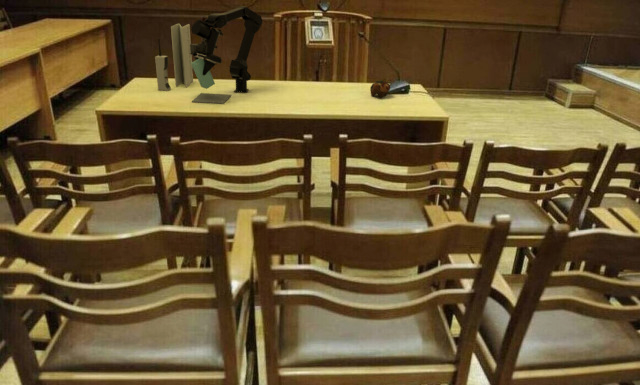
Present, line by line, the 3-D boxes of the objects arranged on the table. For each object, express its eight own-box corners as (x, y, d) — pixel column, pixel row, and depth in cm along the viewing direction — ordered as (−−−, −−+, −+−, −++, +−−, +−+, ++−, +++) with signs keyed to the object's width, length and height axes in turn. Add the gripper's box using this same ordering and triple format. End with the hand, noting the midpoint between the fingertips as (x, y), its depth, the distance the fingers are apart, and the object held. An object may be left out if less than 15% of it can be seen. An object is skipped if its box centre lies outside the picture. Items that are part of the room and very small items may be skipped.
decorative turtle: (365, 98, 254) (366, 82, 250) (375, 92, 266) (376, 77, 263) (383, 100, 250) (385, 84, 247) (392, 94, 263) (394, 79, 259)
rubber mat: (201, 94, 248) (201, 93, 247) (231, 95, 247) (231, 94, 247) (191, 102, 233) (191, 101, 233) (223, 104, 232) (223, 102, 232)
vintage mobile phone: (167, 91, 250) (162, 39, 240) (158, 90, 251) (153, 38, 241) (170, 89, 254) (166, 38, 243) (161, 88, 254) (156, 37, 244)
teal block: (201, 87, 238) (190, 63, 231) (209, 82, 241) (199, 58, 233) (206, 88, 235) (196, 64, 228) (215, 83, 237) (205, 59, 230)
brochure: (186, 87, 258) (181, 27, 246) (175, 87, 258) (170, 26, 246) (193, 81, 271) (189, 24, 259) (183, 81, 271) (178, 23, 259)
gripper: (185, 33, 232) (175, 65, 234) (206, 37, 219) (196, 72, 221) (205, 41, 240) (195, 73, 242) (226, 46, 227) (216, 79, 229)
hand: (200, 74), depth 233 cm, fingers closed on teal block, 5 cm apart
